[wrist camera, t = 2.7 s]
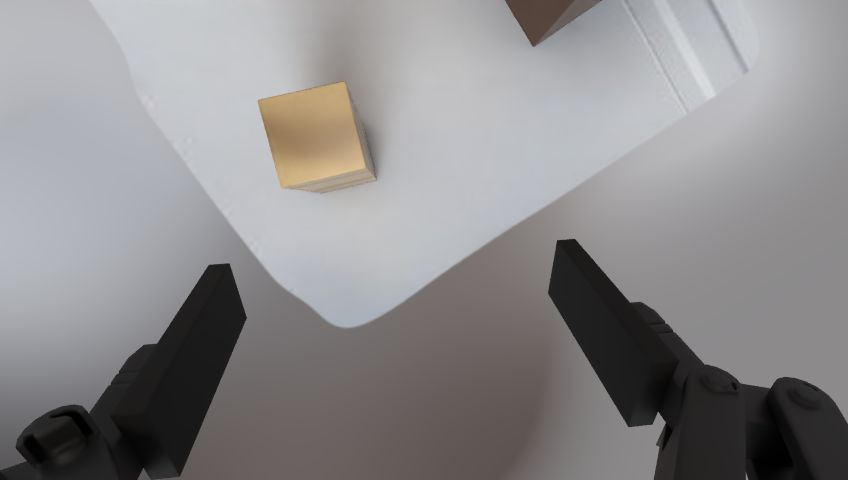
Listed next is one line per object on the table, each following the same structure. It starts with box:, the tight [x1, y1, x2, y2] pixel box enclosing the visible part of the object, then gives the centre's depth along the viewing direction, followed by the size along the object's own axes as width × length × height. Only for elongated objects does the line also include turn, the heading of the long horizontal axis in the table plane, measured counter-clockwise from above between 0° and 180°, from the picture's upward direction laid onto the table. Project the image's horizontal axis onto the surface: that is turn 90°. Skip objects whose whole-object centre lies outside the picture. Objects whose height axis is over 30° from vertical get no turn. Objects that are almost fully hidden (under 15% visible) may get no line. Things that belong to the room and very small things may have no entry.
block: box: [258, 81, 377, 193], centre depth 28 cm, size 5×5×12 cm
